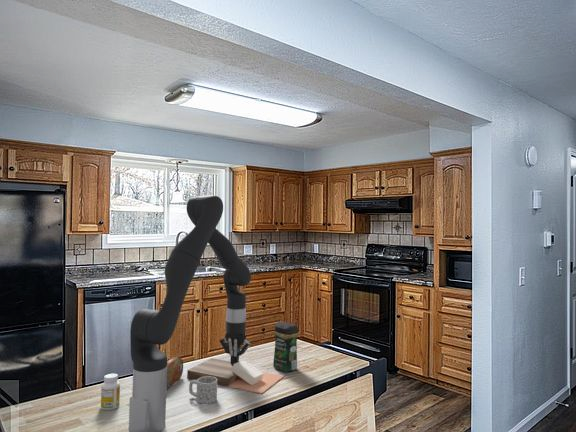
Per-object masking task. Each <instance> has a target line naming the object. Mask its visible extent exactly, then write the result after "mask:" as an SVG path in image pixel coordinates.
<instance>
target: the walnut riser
mask: <svg viewBox="0 0 576 432" xmlns="http://www.w3.org/2000/svg"><path fill="white" fill-rule="evenodd" d="M230 361H231V360H224V359H219V358H213V357H211V358H209V359H207V360H204V361H203V362H201V363H198V364H197V365H194V366H193V367H191V368H189V369H187V371H186V376H187V377H186V379H190V380H197V379H198V378H201V377H206V376H211V377H215V378H217V386H223V387H226V388H229V387H228V386H229V385H230V384H232V383H233V382H235V381H237V380H238V379H240V378H241V377H239V376H238V375H236V374H235V373H233V372H232V368H233V366H232V365H231V363H230Z"/></svg>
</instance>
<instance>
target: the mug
mask: <svg viewBox="0 0 576 432" xmlns="http://www.w3.org/2000/svg"><path fill="white" fill-rule="evenodd" d="M194 384H195V385H196V392H195V391H193V385H194ZM188 392H189V395H191V396H193V397H195V399H196V400H195V401H196V403H197V404H200V405H212V404H214V403H216V402H217V399H218V385H217V378H215V377H211V376H206V377H201V378H198V379H197V380H194V379H191V380H190V382H189V385H188Z"/></svg>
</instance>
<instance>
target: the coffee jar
mask: <svg viewBox="0 0 576 432" xmlns="http://www.w3.org/2000/svg"><path fill="white" fill-rule="evenodd" d="M273 333H274V337H275V338H274V339H275V340H274V351H273V352H274V354H273V361H272V362H273V363H272V364H273V368H274V369H276V370H278V371H281V372H286V373H287V372H294V371H295V370H297V368H298V355H297V353H298V350H297V349H298V346H297V342H298V336H299V328H298V325H297V324H294V323H289V322H286V321H283V320H282V321H278V322H276V323H275V324H274V332H273Z"/></svg>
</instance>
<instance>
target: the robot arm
mask: <svg viewBox="0 0 576 432" xmlns="http://www.w3.org/2000/svg"><path fill="white" fill-rule="evenodd" d="M223 212H224V203H223V200H222V199H221V197H219V196H217V195H213V194H212V195H198V196H192V197H191V198H189V199H188V201H187V202H186V214H187V216H188V218H189V220H190V221H191V223H192V224H193V225H194V227H193V229H191V231H190V232H189V233H187V234H186V235H185V236H184V237H183V238H182V239H181V240H180V241H179V242H178V243H177V244H175V246H174V247H173V249H172V250H171V253H170V255H169V257H168V259H167V261H166V263H165V266H164V278H165V285H166V295H165V298H164V301H163V303H162V305H161V308H160V309H159V310H157V309H149V308H142V309H139V310H138V311H137V312H135V314H134V316H133V318H132V320H131V323H130V324H131V325H130V330H129V331H130V336H129V337H130V338H129V339H130V358H131V361H132V364H133V366H132V369H133V370H132V396H130V397H129V406H128V407H129V409H128V432H161V431H162V430H164V429H165V427H166V421H167V420H166V417H167V413H166V412H167V411H166V410H167V388H166V386H167V361H168V355H167V354H165V353H164V351H162V350H161V349H159V347H158V346H157V345H159V346H163V345H165V344H166V343H168V342H169V341H170V339H171V338H172V336H173V334H174V332H175V330H176V327H177V323H178V320H179V316H180V314H181V311H182V307H183V304H184V301H185V299H186V296H187V293H188V291H189V287H190V286H191V284H192V280H193V278H194V277H195V274H196V271H197V269H198V268H199V265H200V262H201V260H202V256H203V255H204V252H205V250H206V248H207V246H208V245H209V246H210V248H211V249H212V250H213V253H214V254H215V256H216V258H217V261H218V263H219V264H220V266H221V267H222V268H223V269H225V270H224V272H223V277H222V279H223V284H224V289H225V293H226V298H227V299H226V313H225V335H224V337H223V338H221V339H219V343H220V345H221V347H222V349H223V350H224V352H225V354H227V355H229V356H230V360H229V361H230V363H231V365H232V366H233V365H234V364H235V363H237V362H240V356H242V355H244V354H245V353H246V351H247V350H248V349H249V348H250V347H251V346H252V342H250V341H248V340H247V337H246V330H247V327H246V326H247V309H246V308H247V307H246V306H247V302H246V301H247V296H246V295H247V294H246V293H245V292H243V291H241V290H240V289H239V287H246V286H248V285H249V284H251V283H250V282H251V280H252V273H251V270H250V269H249V267H248V266H247V264H246V263H245V262H244V260H243V259H241V257H239V256H238V253H237V251H236V249H235V247H234V245H233V244H232V242H231V241H230V239H228V237H226V236H225V235H224V234H223V233H222V232H220V230H218V229H217V226H218V224H219V222H220V221H221V218H222V216H223ZM242 345H243V347H242Z"/></svg>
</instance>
